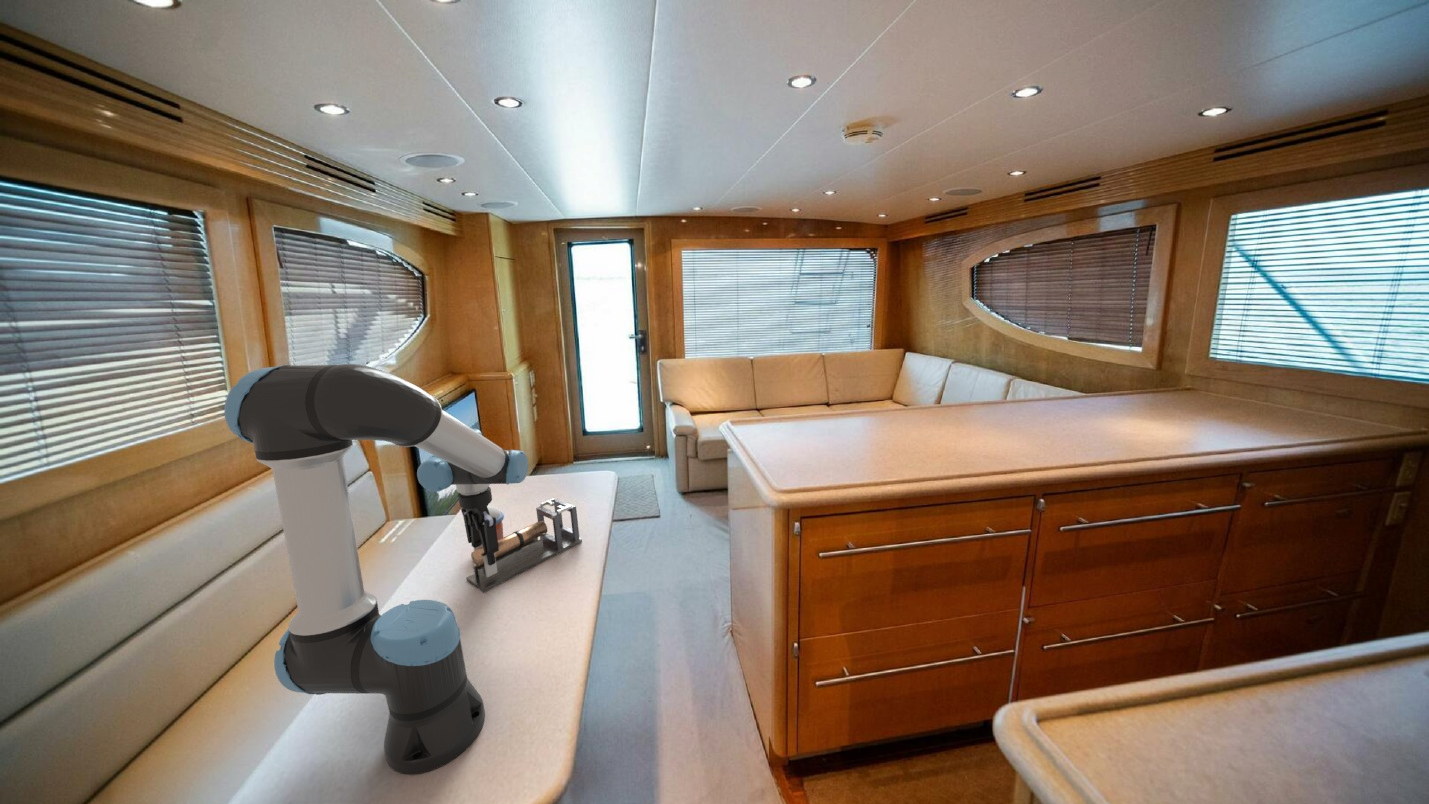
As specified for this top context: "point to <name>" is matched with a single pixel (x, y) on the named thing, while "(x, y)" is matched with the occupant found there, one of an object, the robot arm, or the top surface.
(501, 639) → the top surface
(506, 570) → the collar rail
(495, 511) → the cup with straw
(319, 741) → the top surface
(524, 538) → the tan wooden rod
